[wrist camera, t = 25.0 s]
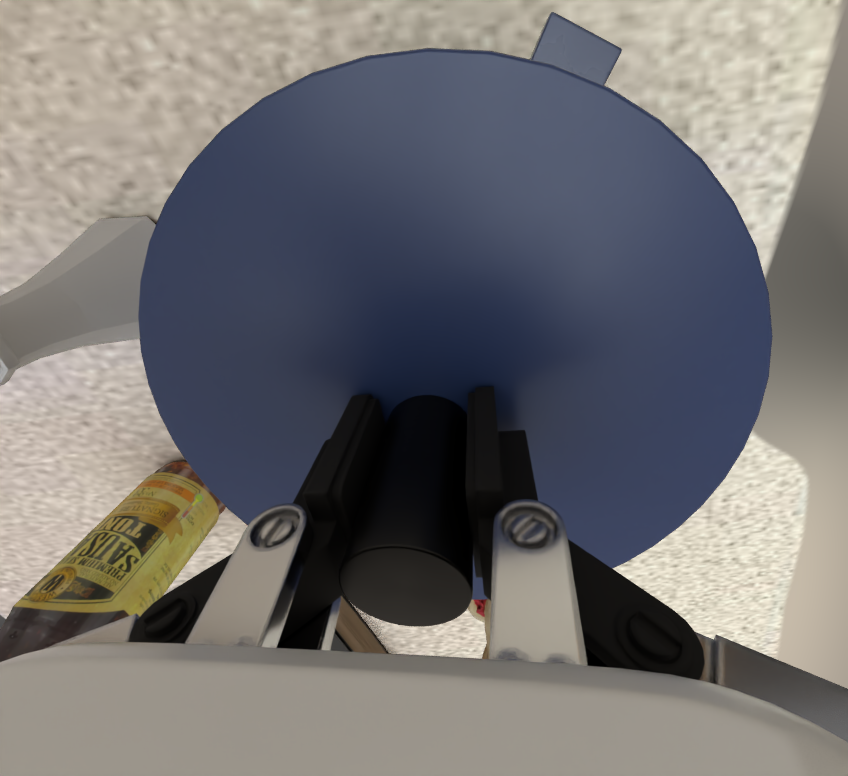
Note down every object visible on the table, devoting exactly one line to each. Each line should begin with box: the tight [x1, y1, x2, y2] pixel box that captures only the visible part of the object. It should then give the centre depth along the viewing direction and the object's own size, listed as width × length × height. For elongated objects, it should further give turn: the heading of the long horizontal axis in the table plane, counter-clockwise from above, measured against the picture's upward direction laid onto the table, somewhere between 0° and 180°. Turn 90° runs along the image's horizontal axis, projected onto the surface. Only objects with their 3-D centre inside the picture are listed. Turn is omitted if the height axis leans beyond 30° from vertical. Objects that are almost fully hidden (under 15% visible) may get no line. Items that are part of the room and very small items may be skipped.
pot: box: [530, 12, 622, 86], centre depth 19 cm, size 17×22×6 cm
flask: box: [0, 216, 156, 386], centre depth 19 cm, size 7×7×10 cm
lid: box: [138, 48, 772, 626], centre depth 10 cm, size 18×18×6 cm
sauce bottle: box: [0, 461, 226, 662], centre depth 24 cm, size 7×6×20 cm
